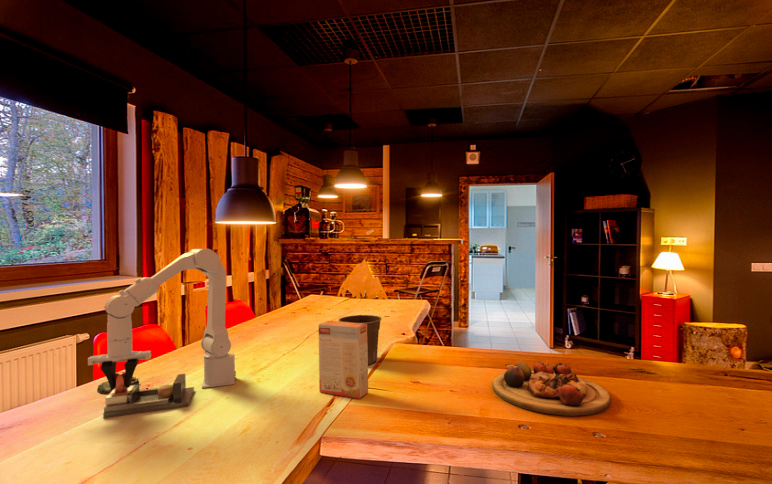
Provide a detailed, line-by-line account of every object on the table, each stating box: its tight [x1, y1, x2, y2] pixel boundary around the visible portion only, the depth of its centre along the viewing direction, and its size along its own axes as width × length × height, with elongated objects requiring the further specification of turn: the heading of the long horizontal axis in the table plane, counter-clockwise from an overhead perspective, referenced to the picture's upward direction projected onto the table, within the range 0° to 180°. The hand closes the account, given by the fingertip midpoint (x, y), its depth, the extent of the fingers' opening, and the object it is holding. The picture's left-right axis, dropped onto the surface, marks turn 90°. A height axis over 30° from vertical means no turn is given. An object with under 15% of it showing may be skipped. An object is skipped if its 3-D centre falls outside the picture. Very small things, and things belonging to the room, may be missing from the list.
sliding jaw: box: [105, 371, 141, 407], centre depth 109 cm, size 6×8×8 cm
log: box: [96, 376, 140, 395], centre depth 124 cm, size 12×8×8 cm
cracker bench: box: [102, 373, 195, 419], centre depth 111 cm, size 20×12×6 cm, turn 109°
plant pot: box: [338, 314, 382, 365], centre depth 148 cm, size 16×16×16 cm
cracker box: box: [318, 320, 369, 400], centre depth 117 cm, size 14×6×21 cm, turn 65°
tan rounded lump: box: [157, 384, 173, 400], centre depth 112 cm, size 4×4×3 cm
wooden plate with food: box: [491, 360, 612, 416], centre depth 115 cm, size 32×32×8 cm
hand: (120, 387), depth 109 cm, fingers closed on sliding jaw, 3 cm apart
